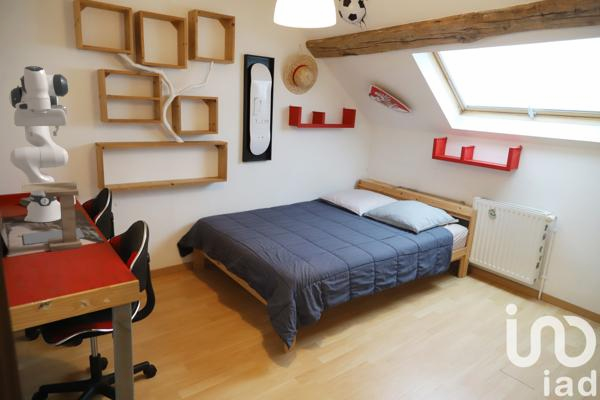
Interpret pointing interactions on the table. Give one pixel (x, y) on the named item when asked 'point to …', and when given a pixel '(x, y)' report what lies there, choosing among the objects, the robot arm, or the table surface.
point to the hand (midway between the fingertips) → (43, 135)
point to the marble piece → (25, 201)
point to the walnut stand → (65, 220)
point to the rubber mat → (46, 236)
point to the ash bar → (49, 186)
